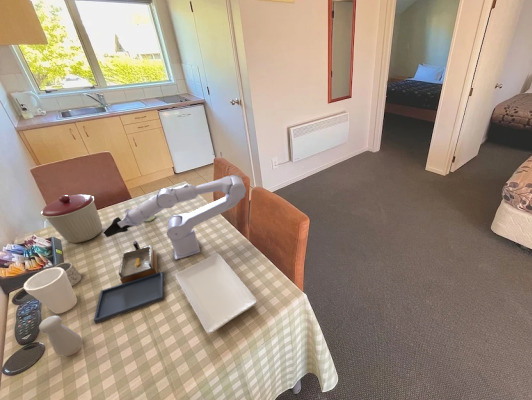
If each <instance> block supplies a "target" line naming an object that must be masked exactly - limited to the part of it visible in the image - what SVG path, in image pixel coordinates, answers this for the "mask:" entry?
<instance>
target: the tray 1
mask: <svg viewBox="0 0 532 400" xmlns="http://www.w3.org/2000/svg"><path fill="white" fill-rule="evenodd" d="M164 291H165V289H164V272H163V271H159V272H158V271H157V273H155V274H152V275H149V276H146V277H143V278H139V279H136V280H133V281H130V282H127V283H124V284H122V283H121V284H118V285H115V286H111V287H108V288H105V289H101V290H100V293H99V297H98V301H97V305H96V310H95V314H94V318H93V322H94V323H95V324H98V323H100V322H104V321H107V320H109V319H112V318H115V317H117V316H120V315H124V314H127V313H129V312H132V311H136V310H138V309H141V308H143V307H146V306H149V305H152V304H154V303H157V302H159V301H163V300H164V299H165V298H164V297H165V296H164V295H165V294H164V293H165V292H164Z"/></svg>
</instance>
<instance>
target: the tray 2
mask: <svg viewBox="0 0 532 400" xmlns="http://www.w3.org/2000/svg"><path fill="white" fill-rule="evenodd" d="M174 278H175V279H176V281H177V282H178V284H179V286H180V288H181V290H182V292H183V293H184V295H185V297H186V299H187V301H188V302H189V304H190V306H191V307H192V310H193V311H194V313H195V315H196V317H197V319H198V320H199V322H200V324H201V326H202V328H203V329H204V332H205V333H207V334H208V335H210V334H213V333H214V332H216V331H218V330H219V329H220V328H221V327H223V326H224V325H226V324H227V323H229V322H230V321H232V320H234V319H235V318H236V317H238V316H239V315H241V314H243V313H244V312H246V311H248V310H250V309H251V308H252V307H254V306H255V305H257V303H258V300H257V298H256V297H255V295H254V294H253V292H251V291H250V289H249V288H248V287H247V285H246V284H245V283H244V282H243V280H242V279H241V278H240V277H239V275H238V274H237V273H236V272H235V271H234V269H232V267H231V266H230V265H229V264H228V262H226V260H225V259H224V257H223V256H221V254H220V253H219V252H218V253H214V254H212V255H210V256H208V257H206V258H205V259H203V260H200V261H198V262H196V263H194V264H192V265H190V266H189V267H186V268H184V269H182V270H180V271H178V272H176V273H175V274H174Z"/></svg>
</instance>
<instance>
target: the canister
mask: <svg viewBox="0 0 532 400" xmlns="http://www.w3.org/2000/svg"><path fill="white" fill-rule="evenodd" d="M39 215H40V216H41V217H42V218H44V219H46V220H47V222H48V223H49V224H50V225H51V226H52V227H53V228H54V229H55V231H56V232H57V233H58V234H59V235H60V236H61V237H62V238H63V239H64V240H65V241H67V242H69V243H73V244H77V243H83V242H87V241H90V240H92V239H94V238H95V237H97V236H98V235H99V234H101V232H102V230H103V224H102V221H101V218H100V215H99V212H98V210H97V207H96V203H95V197H94V196H93V195H91V194H73V195H68V194H63V195H60V196H59V197H58V199H55V200H54V201H51V202H50V203H48V204H46V205H45V206H44V207H43V208H42V209H41V211H40V212H39Z"/></svg>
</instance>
